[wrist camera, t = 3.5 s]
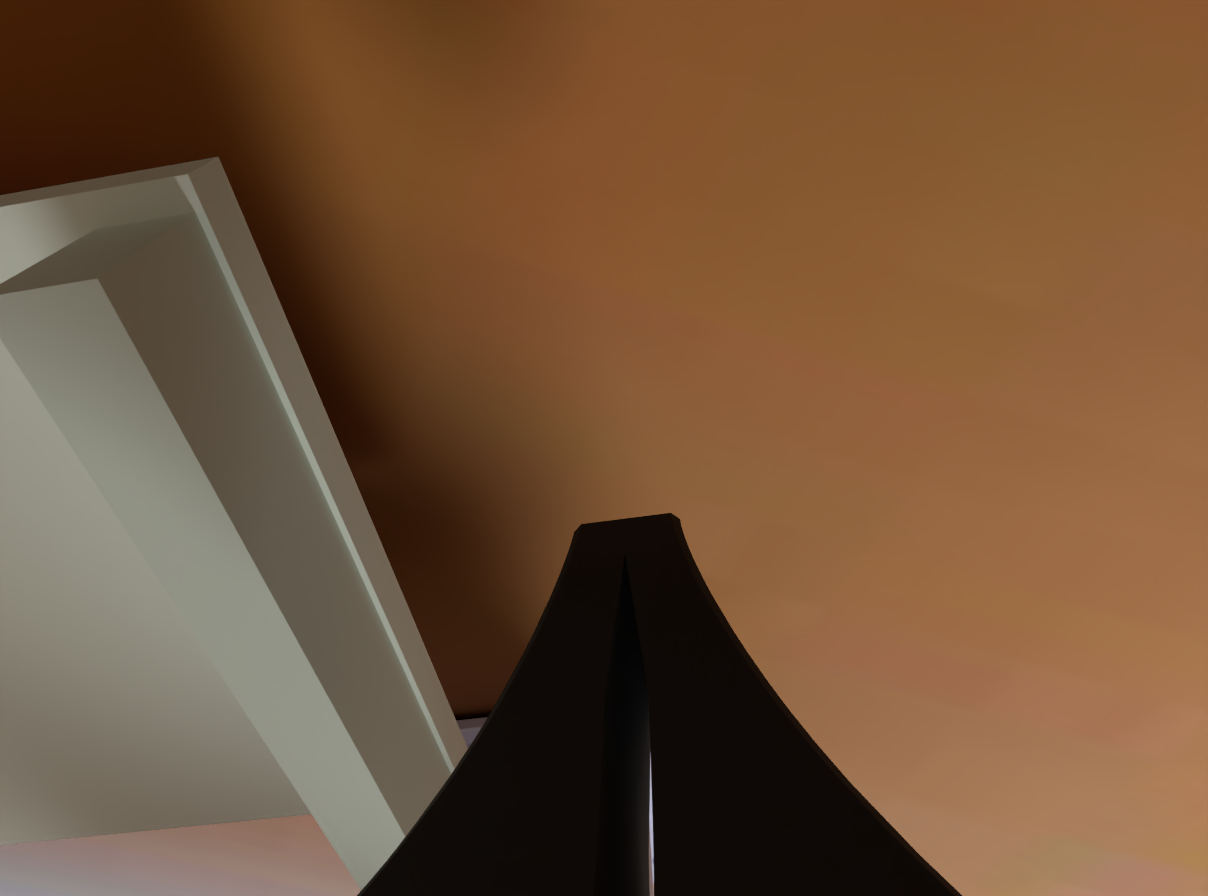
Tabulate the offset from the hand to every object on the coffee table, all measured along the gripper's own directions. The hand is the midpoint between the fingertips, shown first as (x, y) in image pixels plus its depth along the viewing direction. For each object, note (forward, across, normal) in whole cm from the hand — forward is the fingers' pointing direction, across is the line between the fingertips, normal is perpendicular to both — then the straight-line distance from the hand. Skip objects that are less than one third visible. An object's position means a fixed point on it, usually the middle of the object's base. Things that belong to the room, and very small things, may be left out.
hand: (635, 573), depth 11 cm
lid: (+1, +10, 0) cm, 11 cm away
